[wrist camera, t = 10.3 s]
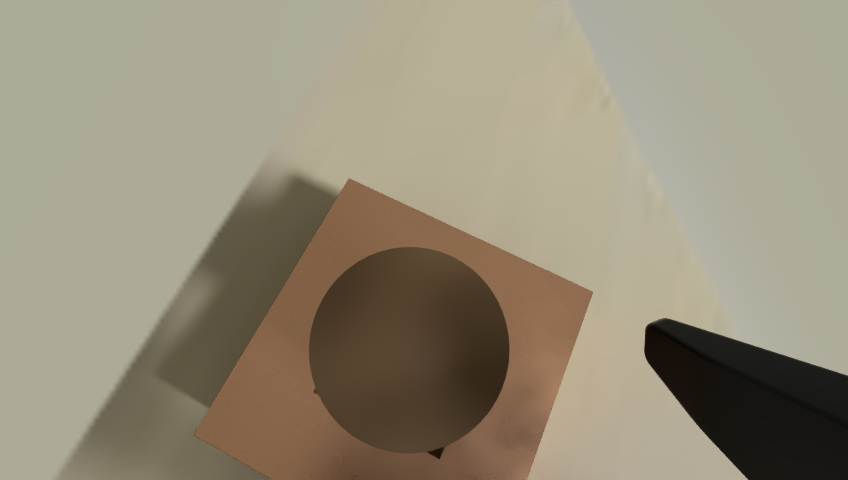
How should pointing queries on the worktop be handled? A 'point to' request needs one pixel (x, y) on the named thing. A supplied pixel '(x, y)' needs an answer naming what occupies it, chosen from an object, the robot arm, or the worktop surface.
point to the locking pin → (409, 350)
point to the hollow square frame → (295, 391)
